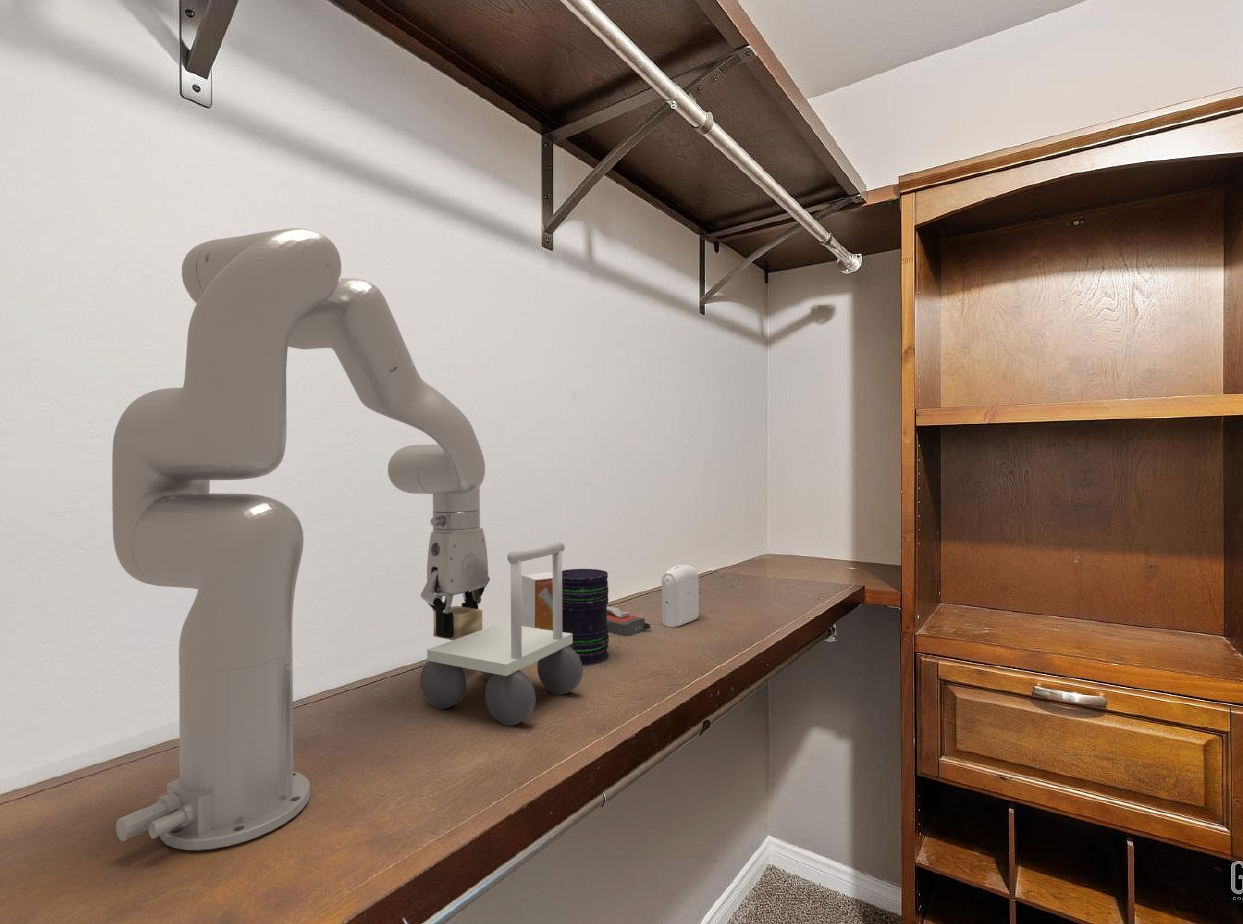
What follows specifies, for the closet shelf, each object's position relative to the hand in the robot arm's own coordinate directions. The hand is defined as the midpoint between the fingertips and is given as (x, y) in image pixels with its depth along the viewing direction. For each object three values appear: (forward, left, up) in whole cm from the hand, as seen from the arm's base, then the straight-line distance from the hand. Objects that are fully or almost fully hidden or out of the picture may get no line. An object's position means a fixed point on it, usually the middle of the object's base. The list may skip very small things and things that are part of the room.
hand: (457, 630), depth 100 cm
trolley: (-5, -14, -7) cm, 16 cm away
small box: (+22, -3, -7) cm, 23 cm away
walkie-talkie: (+38, -7, -8) cm, 39 cm away
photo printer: (+47, -21, -7) cm, 52 cm away
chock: (0, 0, -1) cm, 1 cm away
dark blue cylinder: (+17, -14, -7) cm, 23 cm away
